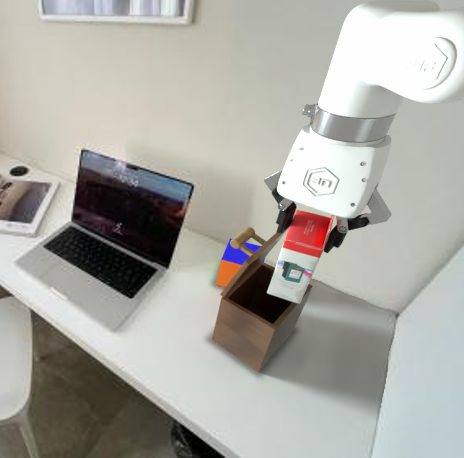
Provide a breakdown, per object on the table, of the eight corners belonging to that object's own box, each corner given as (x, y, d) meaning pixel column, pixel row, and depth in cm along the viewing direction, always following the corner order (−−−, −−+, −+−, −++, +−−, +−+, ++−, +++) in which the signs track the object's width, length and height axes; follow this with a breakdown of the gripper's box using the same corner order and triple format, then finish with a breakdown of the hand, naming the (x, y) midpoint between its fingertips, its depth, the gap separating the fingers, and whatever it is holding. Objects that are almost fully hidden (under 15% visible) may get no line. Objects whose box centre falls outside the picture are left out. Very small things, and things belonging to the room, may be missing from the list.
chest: (293, 329, 72) (313, 285, 64) (258, 372, 66) (275, 329, 58) (247, 303, 78) (260, 260, 70) (211, 340, 72) (221, 297, 64)
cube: (260, 273, 84) (268, 247, 80) (253, 296, 79) (261, 270, 75) (224, 263, 88) (230, 238, 83) (216, 284, 83) (221, 259, 78)
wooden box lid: (291, 225, 62) (264, 208, 64) (249, 264, 56) (221, 244, 58) (262, 260, 70) (240, 243, 72) (223, 297, 64) (200, 278, 66)
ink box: (277, 262, 63) (301, 192, 54) (309, 272, 61) (340, 200, 52) (265, 294, 58) (290, 222, 49) (300, 306, 56) (332, 233, 47)
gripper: (262, 116, 47) (237, 226, 58) (434, 153, 35) (363, 280, 46) (290, 99, 50) (261, 206, 61) (456, 128, 39) (384, 252, 50)
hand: (305, 237), depth 53 cm, fingers closed on ink box, 5 cm apart
